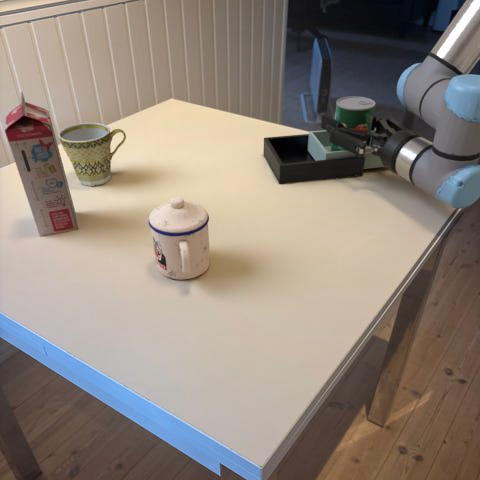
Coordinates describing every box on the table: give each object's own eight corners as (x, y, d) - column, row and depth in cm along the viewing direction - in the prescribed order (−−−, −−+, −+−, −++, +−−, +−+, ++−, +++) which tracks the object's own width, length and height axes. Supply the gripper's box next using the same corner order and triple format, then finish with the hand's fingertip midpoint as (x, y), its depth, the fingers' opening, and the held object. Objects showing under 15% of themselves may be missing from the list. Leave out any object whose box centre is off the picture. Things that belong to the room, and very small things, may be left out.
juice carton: (75, 212, 92) (42, 89, 78) (78, 229, 88) (44, 102, 73) (38, 217, 91) (-2, 93, 76) (39, 236, 86) (-3, 107, 71)
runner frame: (338, 148, 113) (341, 131, 111) (362, 176, 102) (365, 157, 100) (263, 155, 111) (263, 137, 108) (279, 184, 100) (280, 165, 97)
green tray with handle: (395, 142, 113) (409, 73, 104) (419, 163, 105) (436, 91, 95) (307, 149, 111) (313, 80, 101) (323, 172, 102) (332, 99, 92)
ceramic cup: (75, 194, 98) (62, 145, 91) (66, 174, 105) (54, 127, 98) (138, 181, 102) (130, 133, 95) (126, 163, 108) (118, 117, 102)
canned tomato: (336, 163, 103) (343, 110, 96) (325, 148, 109) (331, 97, 102) (372, 160, 104) (381, 107, 97) (359, 146, 110) (367, 95, 103)
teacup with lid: (153, 252, 82) (143, 188, 74) (207, 246, 83) (202, 182, 75) (159, 296, 73) (149, 229, 65) (219, 288, 74) (215, 221, 67)
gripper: (360, 186, 89) (297, 143, 105) (446, 165, 96) (375, 127, 111) (367, 146, 84) (299, 106, 100) (457, 127, 91) (381, 92, 106)
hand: (339, 117), depth 106 cm, fingers closed on canned tomato, 8 cm apart
